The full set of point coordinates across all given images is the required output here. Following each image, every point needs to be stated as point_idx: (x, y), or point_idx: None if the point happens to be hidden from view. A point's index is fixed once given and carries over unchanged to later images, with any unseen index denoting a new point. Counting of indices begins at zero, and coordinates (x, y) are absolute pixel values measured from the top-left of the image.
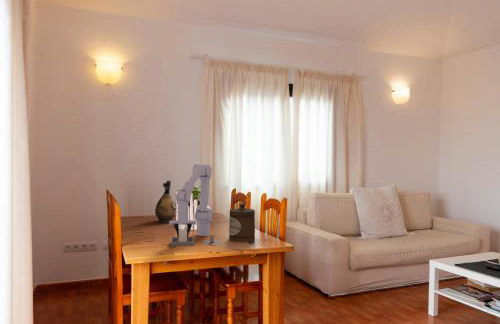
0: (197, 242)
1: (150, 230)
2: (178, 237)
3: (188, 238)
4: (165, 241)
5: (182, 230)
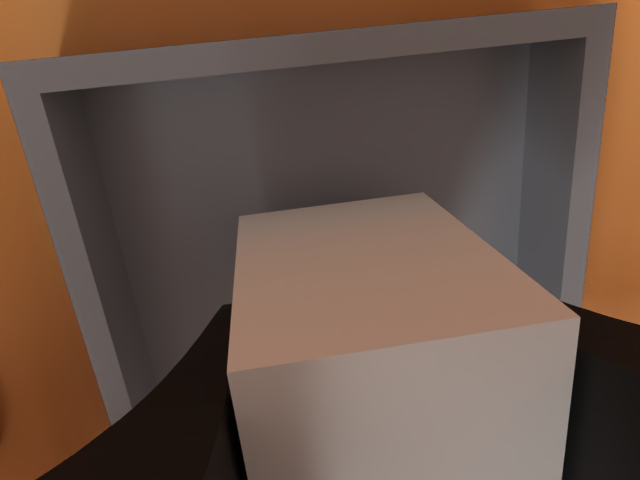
0: (81, 433)
1: None
2: None
3: None
4: None
5: (430, 354)
